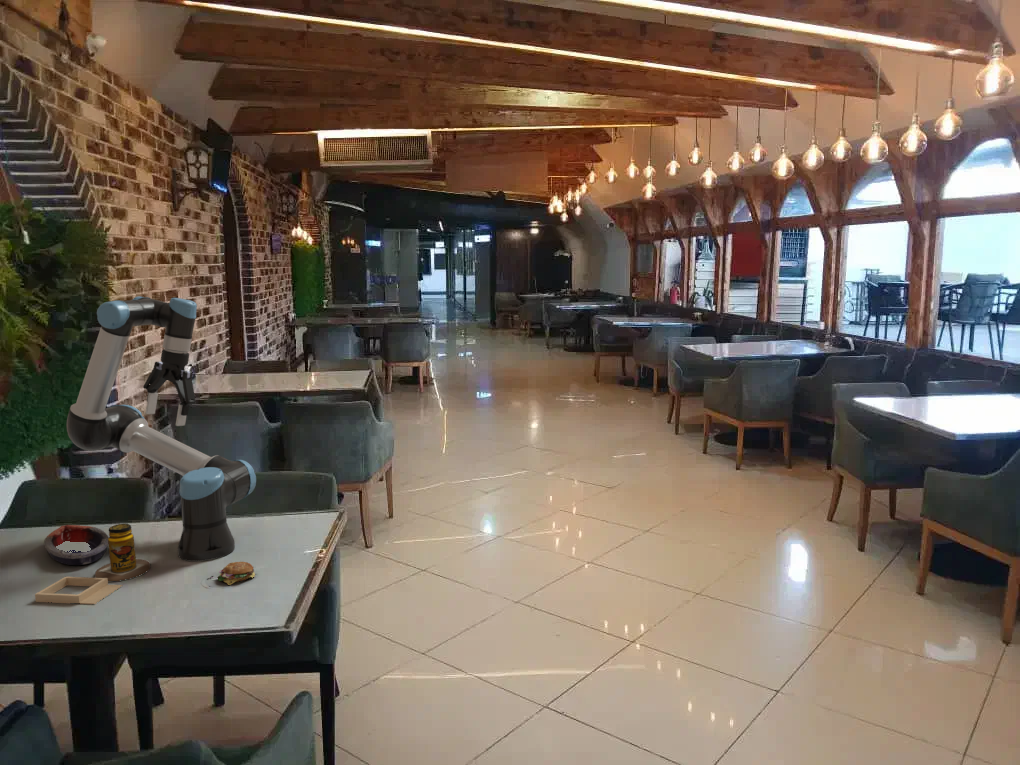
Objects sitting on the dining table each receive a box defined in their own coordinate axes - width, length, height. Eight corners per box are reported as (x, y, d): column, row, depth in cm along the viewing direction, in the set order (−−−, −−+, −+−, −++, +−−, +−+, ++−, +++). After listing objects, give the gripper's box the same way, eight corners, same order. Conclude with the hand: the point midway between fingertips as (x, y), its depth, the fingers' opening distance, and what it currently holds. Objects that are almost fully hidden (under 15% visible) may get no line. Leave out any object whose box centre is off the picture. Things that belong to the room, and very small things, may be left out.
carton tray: (122, 586, 188) (121, 578, 187) (94, 604, 177) (94, 596, 177) (66, 583, 189) (65, 576, 189) (35, 601, 179) (34, 594, 179)
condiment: (122, 575, 192) (118, 532, 190) (98, 571, 195) (94, 528, 193) (144, 565, 198) (141, 523, 197) (121, 561, 201) (117, 519, 200)
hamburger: (242, 565, 202) (241, 544, 201) (267, 579, 192) (266, 557, 191) (191, 580, 192) (190, 558, 191) (215, 595, 182) (214, 572, 181)
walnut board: (160, 563, 202) (159, 559, 202) (130, 582, 190) (130, 579, 189) (116, 561, 204) (116, 558, 204) (84, 580, 191) (83, 577, 191)
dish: (54, 576, 195) (52, 558, 194) (39, 544, 219) (38, 528, 218) (118, 561, 205) (117, 544, 204) (98, 532, 228) (96, 517, 228)
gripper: (215, 360, 215) (203, 429, 218) (159, 342, 226) (148, 408, 229) (194, 359, 209) (182, 431, 211) (137, 341, 220) (126, 409, 222)
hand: (164, 419), depth 220 cm, fingers open, 13 cm apart
